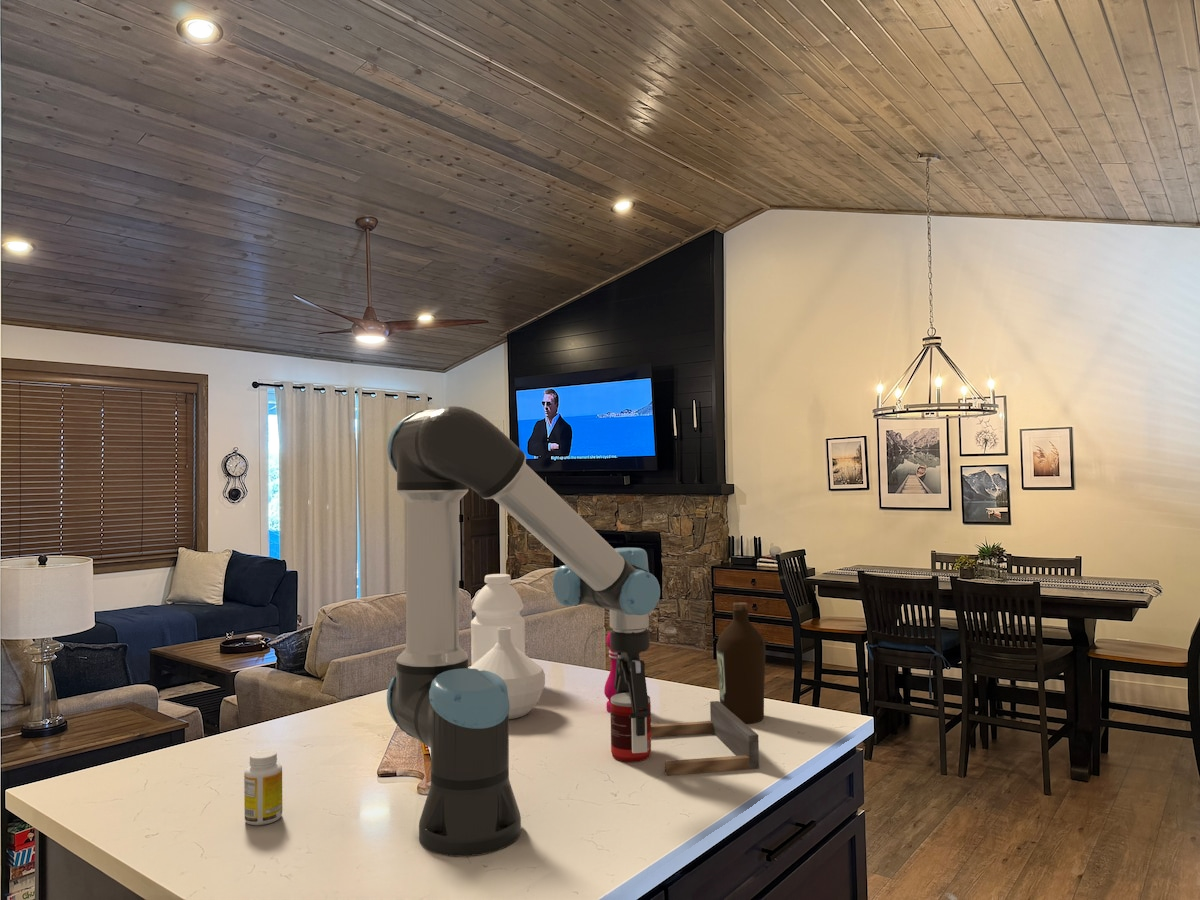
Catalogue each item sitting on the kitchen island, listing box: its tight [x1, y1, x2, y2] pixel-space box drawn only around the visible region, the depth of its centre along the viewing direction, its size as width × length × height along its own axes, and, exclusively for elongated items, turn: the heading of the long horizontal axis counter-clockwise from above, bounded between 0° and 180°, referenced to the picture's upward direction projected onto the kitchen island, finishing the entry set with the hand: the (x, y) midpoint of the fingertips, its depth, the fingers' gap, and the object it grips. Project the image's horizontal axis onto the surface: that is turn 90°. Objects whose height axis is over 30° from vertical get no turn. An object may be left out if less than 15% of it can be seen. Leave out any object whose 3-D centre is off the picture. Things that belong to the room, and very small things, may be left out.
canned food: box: [610, 692, 652, 763], centre depth 159 cm, size 8×8×11 cm
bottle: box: [470, 573, 526, 666], centre depth 213 cm, size 14×14×28 cm
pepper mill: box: [603, 630, 617, 714], centre depth 189 cm, size 7×7×20 cm
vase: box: [468, 627, 546, 720], centre depth 188 cm, size 18×18×19 cm
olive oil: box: [716, 601, 767, 724], centre depth 183 cm, size 11×11×25 cm
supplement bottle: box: [243, 749, 283, 826], centre depth 131 cm, size 6×6×10 cm
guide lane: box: [651, 700, 760, 776], centre depth 161 cm, size 17×23×6 cm
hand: (631, 740), depth 159 cm, fingers open, 13 cm apart
